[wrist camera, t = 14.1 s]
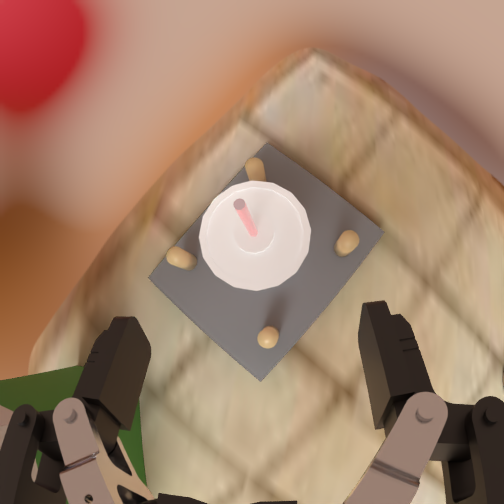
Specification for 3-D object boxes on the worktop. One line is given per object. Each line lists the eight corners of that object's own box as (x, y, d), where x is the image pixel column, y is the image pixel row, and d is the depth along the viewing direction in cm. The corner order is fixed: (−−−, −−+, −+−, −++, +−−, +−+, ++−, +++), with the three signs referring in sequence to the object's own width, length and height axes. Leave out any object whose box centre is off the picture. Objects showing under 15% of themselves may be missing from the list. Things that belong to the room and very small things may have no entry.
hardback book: (151, 517, 24) (34, 647, 1) (95, 500, 25) (-36, 593, 2) (138, 377, 27) (-97, 451, 4) (77, 365, 28) (-132, 393, 4)
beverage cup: (218, 280, 26) (143, 252, 12) (244, 212, 27) (200, 122, 13) (289, 306, 25) (288, 307, 11) (314, 235, 26) (337, 160, 12)
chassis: (268, 150, 29) (263, 122, 24) (379, 235, 27) (397, 221, 22) (154, 279, 28) (129, 273, 24) (262, 377, 26) (256, 392, 21)
